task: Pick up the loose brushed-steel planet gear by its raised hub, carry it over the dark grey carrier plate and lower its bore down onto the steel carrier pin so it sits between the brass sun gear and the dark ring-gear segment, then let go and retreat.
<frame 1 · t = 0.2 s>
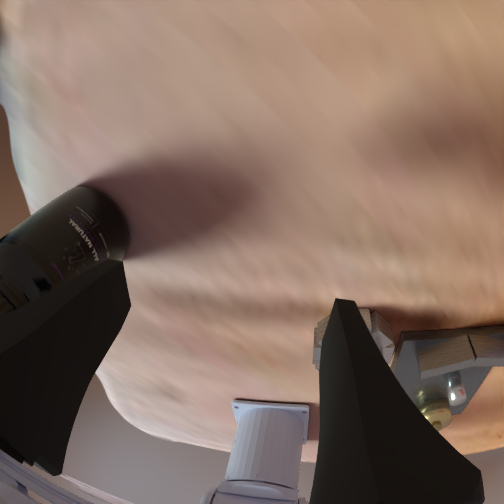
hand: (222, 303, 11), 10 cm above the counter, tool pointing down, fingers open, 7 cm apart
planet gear: (352, 336, 24), on the counter
supplement bottle: (95, 223, 23), on the counter
carrier: (449, 365, 24), on the counter
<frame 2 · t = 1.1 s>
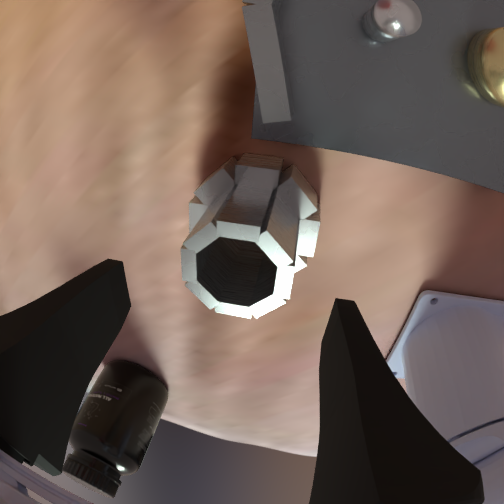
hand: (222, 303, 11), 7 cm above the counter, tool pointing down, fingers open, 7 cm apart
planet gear: (258, 211, 17), on the counter
supplement bottle: (137, 379, 28), on the counter
carrier: (376, 27, 11), on the counter
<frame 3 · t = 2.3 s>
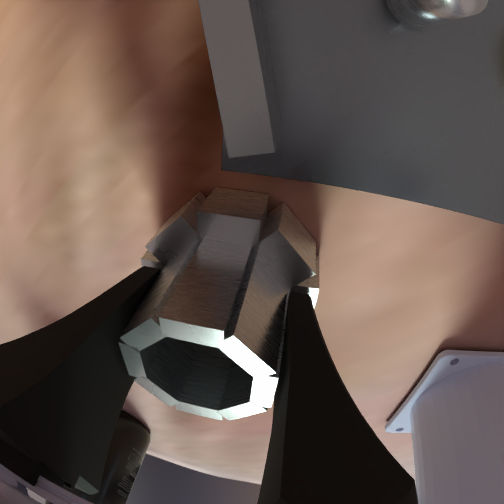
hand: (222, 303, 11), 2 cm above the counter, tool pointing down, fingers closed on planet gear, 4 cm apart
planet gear: (237, 263, 13), on the counter, touching gripper
supplement bottle: (117, 418, 24), on the counter
carrier: (403, 8, 7), on the counter
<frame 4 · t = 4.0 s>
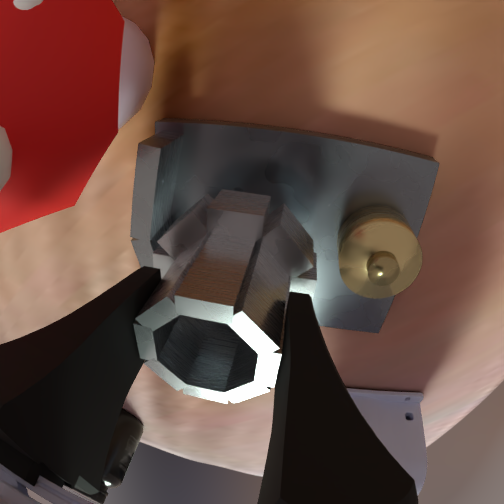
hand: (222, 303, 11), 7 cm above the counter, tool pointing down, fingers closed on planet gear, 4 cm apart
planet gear: (240, 260, 14), point 4 cm above the counter, touching gripper
supplement bottle: (119, 415, 34), on the counter
mushroom: (102, 67, 14), on the counter
carrier: (256, 212, 16), on the counter
when the fingers open (4 cm above the counter, at t = 5.0 s): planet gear stays where it is, resting on carrier.
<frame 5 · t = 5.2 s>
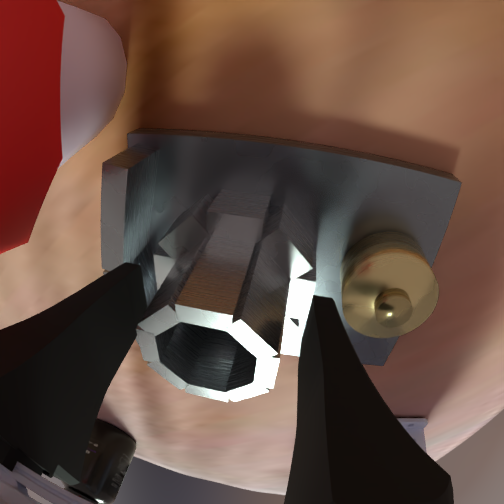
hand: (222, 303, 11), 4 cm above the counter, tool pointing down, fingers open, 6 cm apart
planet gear: (241, 259, 14), point 1 cm above the counter, touching carrier
supplement bottle: (112, 431, 32), on the counter
mushroom: (72, 71, 11), on the counter
carrier: (246, 237, 14), on the counter
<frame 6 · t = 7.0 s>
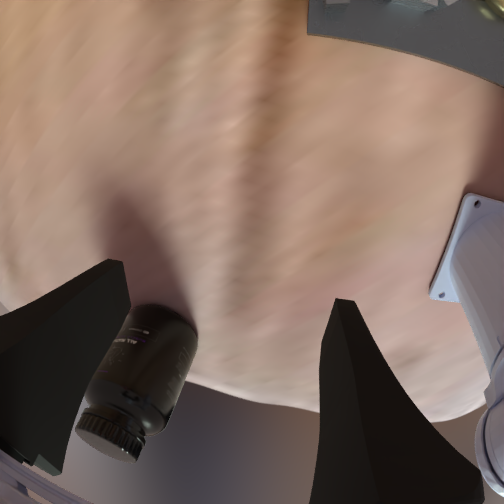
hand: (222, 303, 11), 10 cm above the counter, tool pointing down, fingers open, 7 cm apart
supplement bottle: (163, 329, 27), on the counter
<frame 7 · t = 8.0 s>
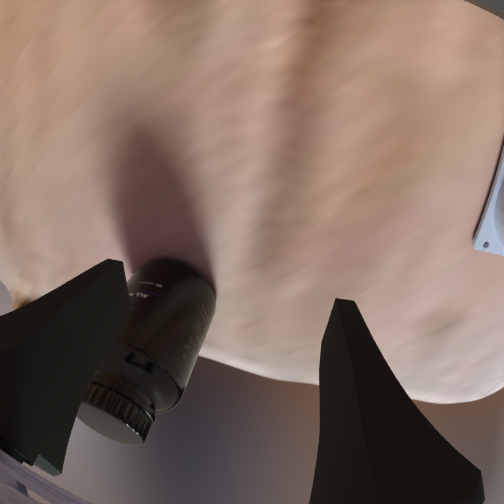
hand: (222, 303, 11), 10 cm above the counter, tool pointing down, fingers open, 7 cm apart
supplement bottle: (175, 290, 25), on the counter
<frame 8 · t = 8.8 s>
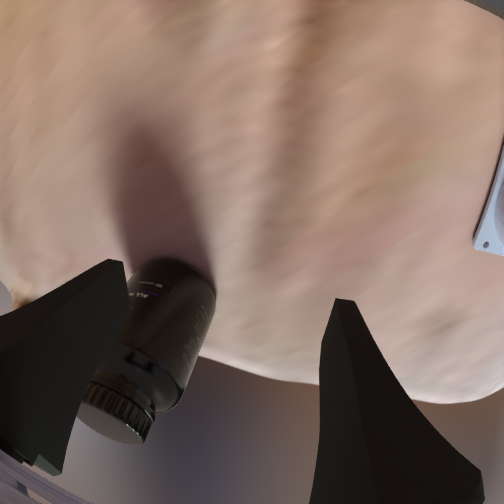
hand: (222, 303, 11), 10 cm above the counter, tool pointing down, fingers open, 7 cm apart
supplement bottle: (175, 290, 25), on the counter
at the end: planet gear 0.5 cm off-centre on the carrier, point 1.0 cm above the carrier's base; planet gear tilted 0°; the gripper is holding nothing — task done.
